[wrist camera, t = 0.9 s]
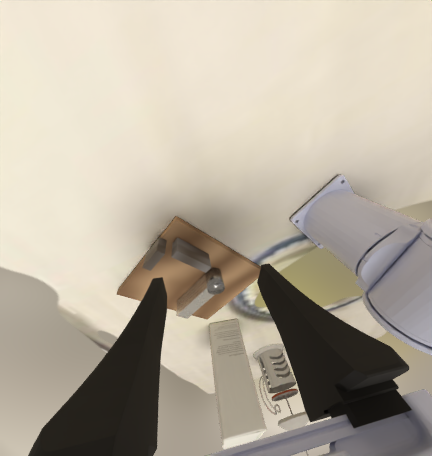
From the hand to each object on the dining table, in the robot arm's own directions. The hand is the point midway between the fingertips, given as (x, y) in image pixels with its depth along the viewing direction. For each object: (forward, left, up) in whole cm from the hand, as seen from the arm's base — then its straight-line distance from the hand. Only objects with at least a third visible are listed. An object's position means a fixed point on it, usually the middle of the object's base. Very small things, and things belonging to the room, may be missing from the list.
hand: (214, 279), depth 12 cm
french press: (-45, +25, -10) cm, 53 cm away
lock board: (-6, +9, -10) cm, 15 cm away
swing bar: (-7, +10, -9) cm, 15 cm away
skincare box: (-22, +20, -10) cm, 31 cm away
